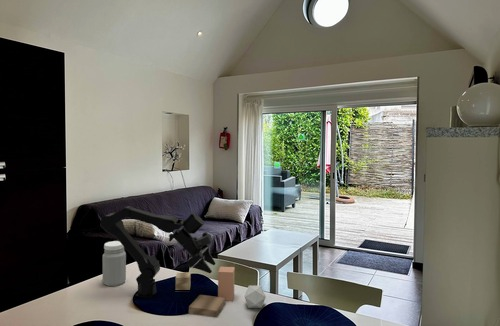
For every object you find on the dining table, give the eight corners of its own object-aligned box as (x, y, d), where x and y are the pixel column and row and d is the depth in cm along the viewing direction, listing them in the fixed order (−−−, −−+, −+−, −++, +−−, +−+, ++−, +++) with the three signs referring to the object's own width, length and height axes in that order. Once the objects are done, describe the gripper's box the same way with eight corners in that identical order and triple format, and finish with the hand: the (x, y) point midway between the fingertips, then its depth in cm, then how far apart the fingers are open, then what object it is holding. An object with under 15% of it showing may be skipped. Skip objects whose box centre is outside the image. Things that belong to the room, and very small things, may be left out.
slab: (188, 314, 131) (188, 306, 131) (199, 301, 142) (199, 294, 142) (216, 318, 129) (216, 310, 129) (225, 305, 140) (225, 298, 139)
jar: (117, 276, 165) (117, 239, 164) (130, 282, 160) (130, 243, 158) (98, 283, 157) (98, 243, 156) (110, 289, 152) (110, 248, 151)
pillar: (217, 300, 142) (218, 271, 142) (220, 294, 148) (220, 266, 148) (232, 301, 142) (233, 272, 141) (234, 295, 148) (234, 267, 147)
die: (258, 315, 132) (271, 292, 135) (239, 302, 134) (252, 279, 136) (257, 313, 140) (269, 291, 143) (239, 300, 141) (252, 279, 144)
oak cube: (175, 291, 151) (175, 277, 150) (176, 285, 157) (176, 272, 156) (189, 291, 151) (189, 277, 151) (190, 285, 157) (190, 272, 157)
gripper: (195, 233, 135) (223, 263, 135) (204, 222, 154) (229, 248, 154) (175, 253, 136) (203, 282, 136) (186, 240, 154) (211, 265, 154)
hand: (213, 268), depth 145 cm, fingers open, 9 cm apart
